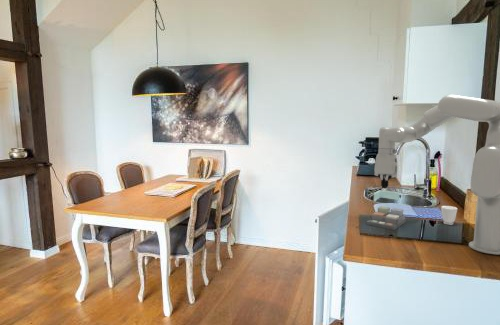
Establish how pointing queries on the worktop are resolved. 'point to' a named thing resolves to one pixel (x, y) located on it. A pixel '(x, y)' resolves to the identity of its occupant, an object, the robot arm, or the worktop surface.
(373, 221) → the keypad board
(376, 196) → the l-shaped corner panel
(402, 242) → the worktop surface
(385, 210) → the sage key
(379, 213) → the terracotta key
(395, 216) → the ivory key
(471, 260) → the worktop surface
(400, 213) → the slate key
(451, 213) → the cup
